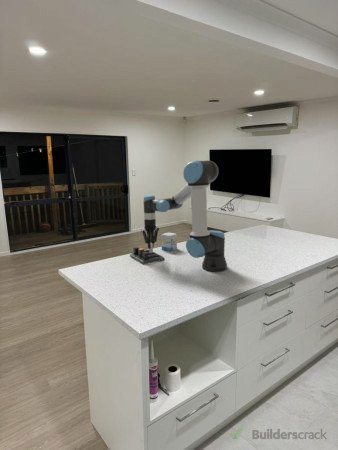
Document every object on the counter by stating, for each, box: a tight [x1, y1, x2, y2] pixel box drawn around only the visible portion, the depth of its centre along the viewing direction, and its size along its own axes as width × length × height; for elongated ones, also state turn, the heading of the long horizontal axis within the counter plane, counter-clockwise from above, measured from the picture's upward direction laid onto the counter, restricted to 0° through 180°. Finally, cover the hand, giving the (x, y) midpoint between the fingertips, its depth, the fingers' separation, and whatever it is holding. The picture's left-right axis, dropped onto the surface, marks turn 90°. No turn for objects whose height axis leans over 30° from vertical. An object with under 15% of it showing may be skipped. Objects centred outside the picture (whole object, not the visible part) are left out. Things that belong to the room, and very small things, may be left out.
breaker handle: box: [138, 248, 145, 257], centre depth 212 cm, size 3×3×5 cm
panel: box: [129, 246, 166, 265], centre depth 214 cm, size 20×16×6 cm
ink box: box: [161, 232, 178, 252], centre depth 234 cm, size 8×8×12 cm
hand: (151, 252), depth 216 cm, fingers closed
